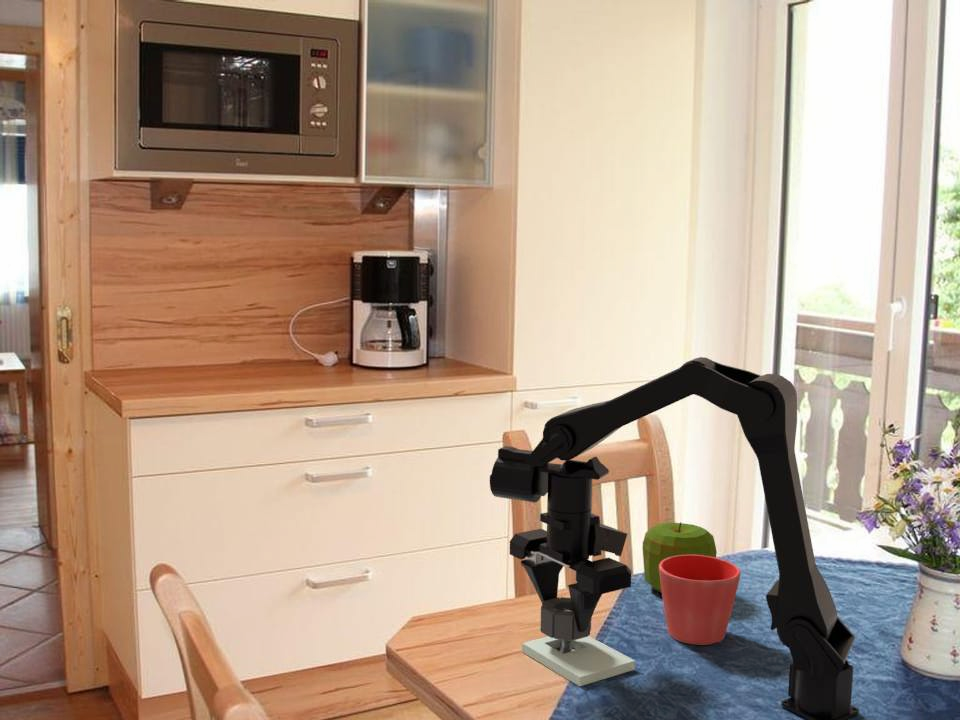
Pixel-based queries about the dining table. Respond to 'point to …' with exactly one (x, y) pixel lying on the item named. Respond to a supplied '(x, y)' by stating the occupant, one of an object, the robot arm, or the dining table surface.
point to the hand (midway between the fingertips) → (566, 622)
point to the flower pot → (698, 597)
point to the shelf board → (579, 659)
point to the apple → (673, 546)
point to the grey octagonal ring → (560, 620)
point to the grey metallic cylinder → (565, 644)
